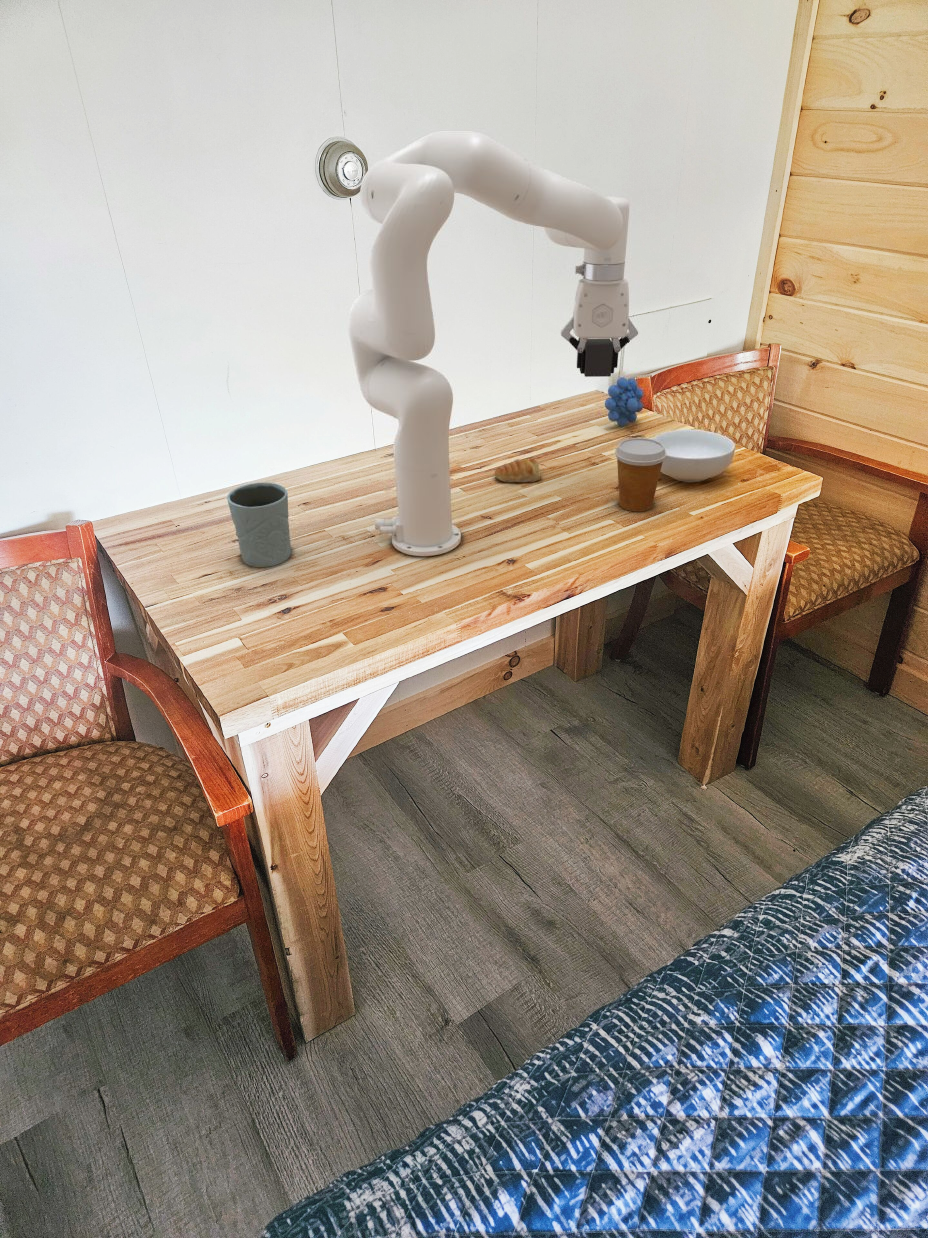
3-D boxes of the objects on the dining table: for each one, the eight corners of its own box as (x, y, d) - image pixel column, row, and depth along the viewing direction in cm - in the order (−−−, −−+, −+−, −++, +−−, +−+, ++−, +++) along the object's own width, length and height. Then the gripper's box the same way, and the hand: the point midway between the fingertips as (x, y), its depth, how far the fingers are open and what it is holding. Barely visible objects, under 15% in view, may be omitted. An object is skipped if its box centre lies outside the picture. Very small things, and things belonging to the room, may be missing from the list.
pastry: (499, 486, 169) (499, 468, 166) (491, 474, 174) (490, 457, 172) (542, 481, 170) (543, 463, 168) (533, 469, 176) (533, 452, 174)
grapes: (616, 436, 190) (620, 385, 184) (597, 428, 195) (600, 378, 189) (653, 426, 196) (658, 375, 189) (633, 418, 200) (637, 369, 194)
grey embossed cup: (247, 542, 150) (235, 482, 144) (302, 542, 150) (292, 481, 144) (232, 570, 142) (219, 506, 135) (290, 569, 142) (280, 506, 135)
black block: (584, 376, 158) (586, 344, 155) (582, 369, 163) (584, 338, 160) (610, 376, 158) (613, 344, 155) (607, 369, 163) (609, 338, 159)
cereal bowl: (701, 455, 180) (706, 423, 176) (746, 483, 166) (752, 450, 162) (632, 466, 175) (635, 434, 172) (672, 496, 162) (676, 463, 158)
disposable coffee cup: (664, 514, 155) (671, 455, 149) (614, 515, 156) (619, 456, 149) (655, 493, 163) (662, 436, 157) (607, 494, 164) (612, 437, 157)
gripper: (558, 276, 148) (554, 377, 157) (653, 275, 147) (643, 376, 157) (555, 269, 154) (551, 366, 164) (646, 268, 154) (637, 365, 163)
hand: (596, 370), depth 160 cm, fingers closed on black block, 5 cm apart
